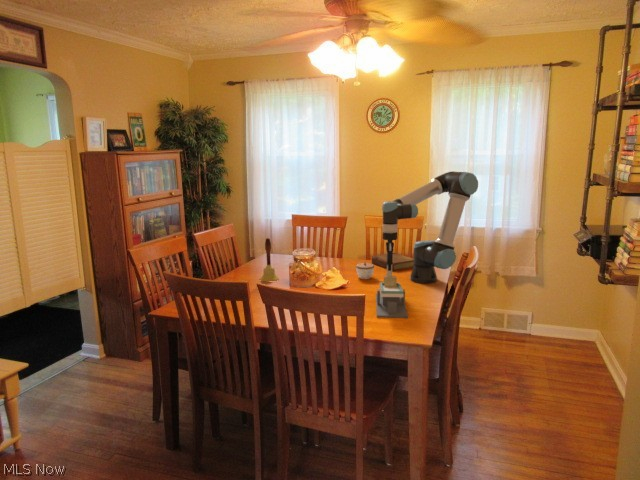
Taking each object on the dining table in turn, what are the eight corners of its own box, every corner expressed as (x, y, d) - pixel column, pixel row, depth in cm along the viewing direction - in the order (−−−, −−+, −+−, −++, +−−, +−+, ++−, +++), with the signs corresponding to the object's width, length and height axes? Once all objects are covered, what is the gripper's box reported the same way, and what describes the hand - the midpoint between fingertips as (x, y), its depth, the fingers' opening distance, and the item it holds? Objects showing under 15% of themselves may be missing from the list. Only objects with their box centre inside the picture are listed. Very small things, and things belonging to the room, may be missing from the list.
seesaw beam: (399, 289, 237) (399, 282, 236) (403, 298, 209) (403, 291, 209) (379, 288, 238) (379, 282, 238) (381, 298, 210) (381, 291, 210)
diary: (371, 264, 307) (371, 256, 306) (394, 260, 315) (394, 252, 314) (392, 272, 287) (392, 263, 286) (416, 267, 295) (416, 259, 294)
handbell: (255, 281, 271) (253, 239, 266) (266, 275, 282) (264, 235, 277) (272, 283, 266) (271, 241, 261) (283, 277, 277) (282, 237, 272)
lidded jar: (373, 280, 268) (373, 265, 266) (355, 279, 270) (354, 264, 268) (374, 275, 278) (374, 260, 276) (357, 275, 280) (357, 260, 278)
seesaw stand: (402, 295, 239) (403, 281, 238) (407, 318, 208) (408, 301, 207) (375, 295, 241) (376, 280, 239) (376, 317, 210) (377, 300, 208)
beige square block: (395, 285, 235) (395, 276, 234) (396, 287, 229) (396, 277, 228) (384, 285, 235) (384, 275, 235) (384, 287, 229) (384, 277, 229)
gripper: (382, 229, 242) (381, 272, 246) (383, 234, 229) (382, 279, 234) (396, 229, 241) (396, 272, 245) (398, 234, 228) (397, 279, 233)
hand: (389, 276), depth 240 cm, fingers closed
